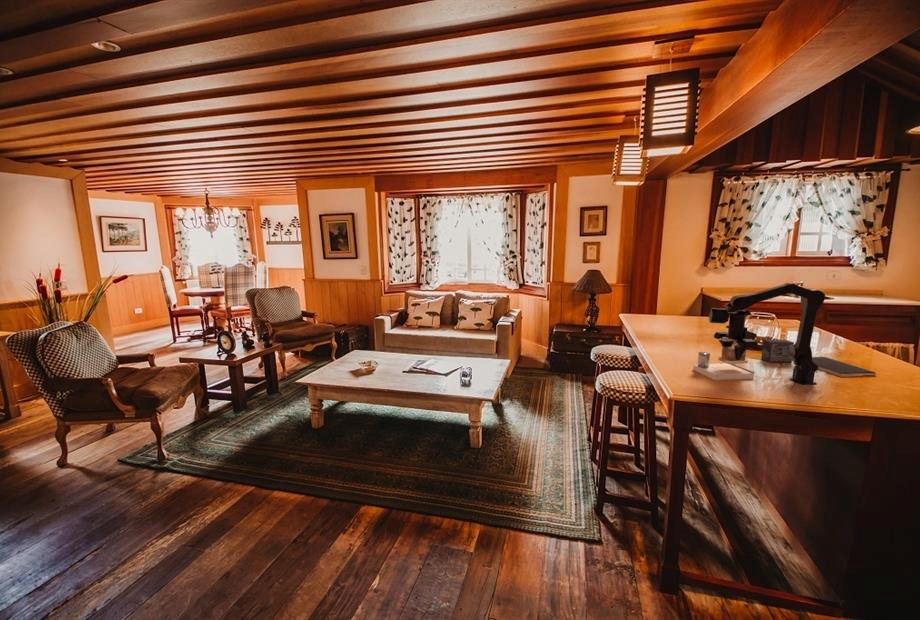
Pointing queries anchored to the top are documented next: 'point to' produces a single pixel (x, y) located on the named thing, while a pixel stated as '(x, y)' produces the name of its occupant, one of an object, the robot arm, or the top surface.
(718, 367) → the dock
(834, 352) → the top surface
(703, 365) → the canister
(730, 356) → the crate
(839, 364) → the hardcover book
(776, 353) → the small box
